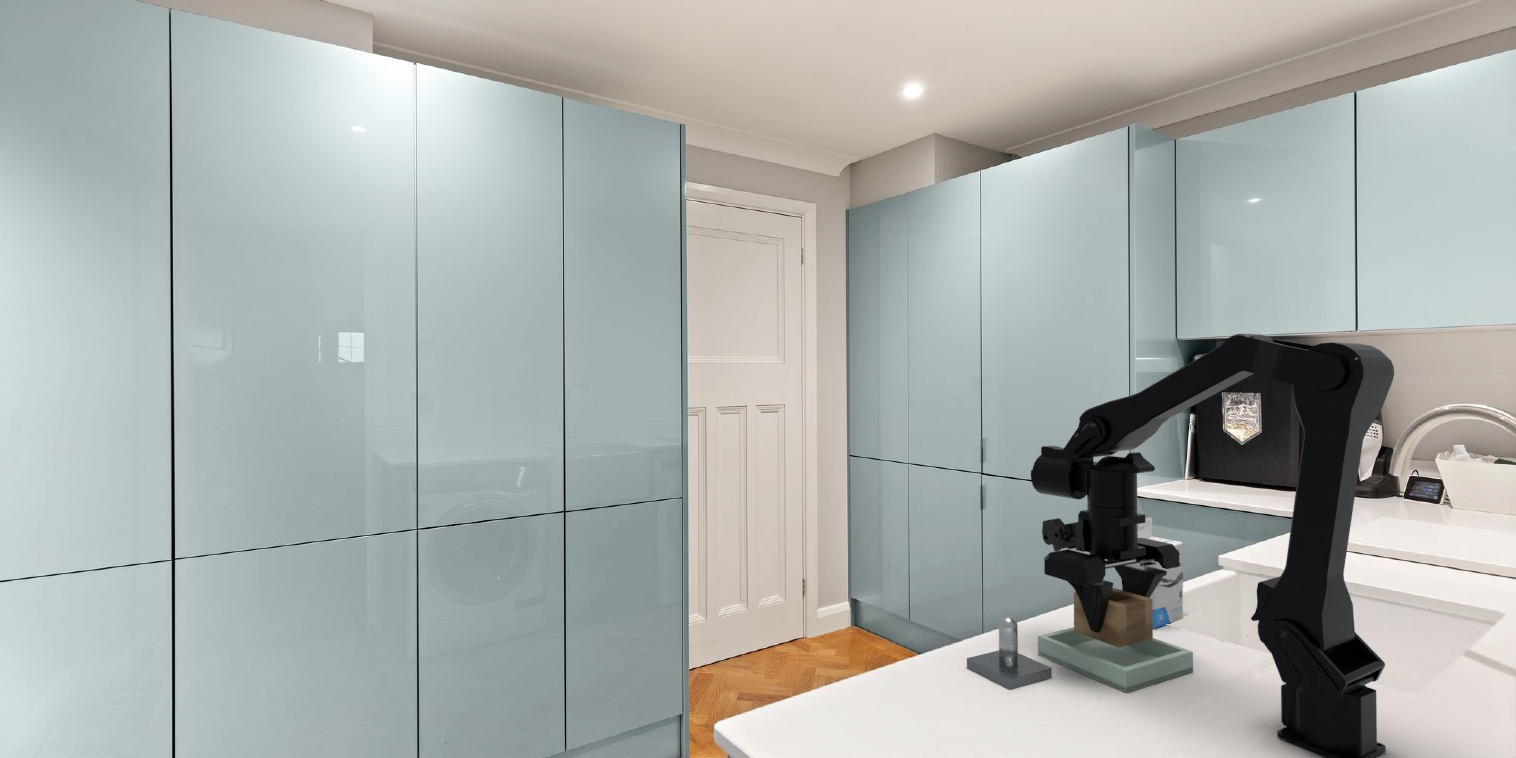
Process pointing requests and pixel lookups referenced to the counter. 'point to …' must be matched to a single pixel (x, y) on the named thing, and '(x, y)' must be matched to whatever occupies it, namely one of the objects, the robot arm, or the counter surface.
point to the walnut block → (1119, 619)
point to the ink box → (1166, 584)
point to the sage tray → (1116, 659)
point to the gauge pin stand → (1009, 661)
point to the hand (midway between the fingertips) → (1113, 627)
